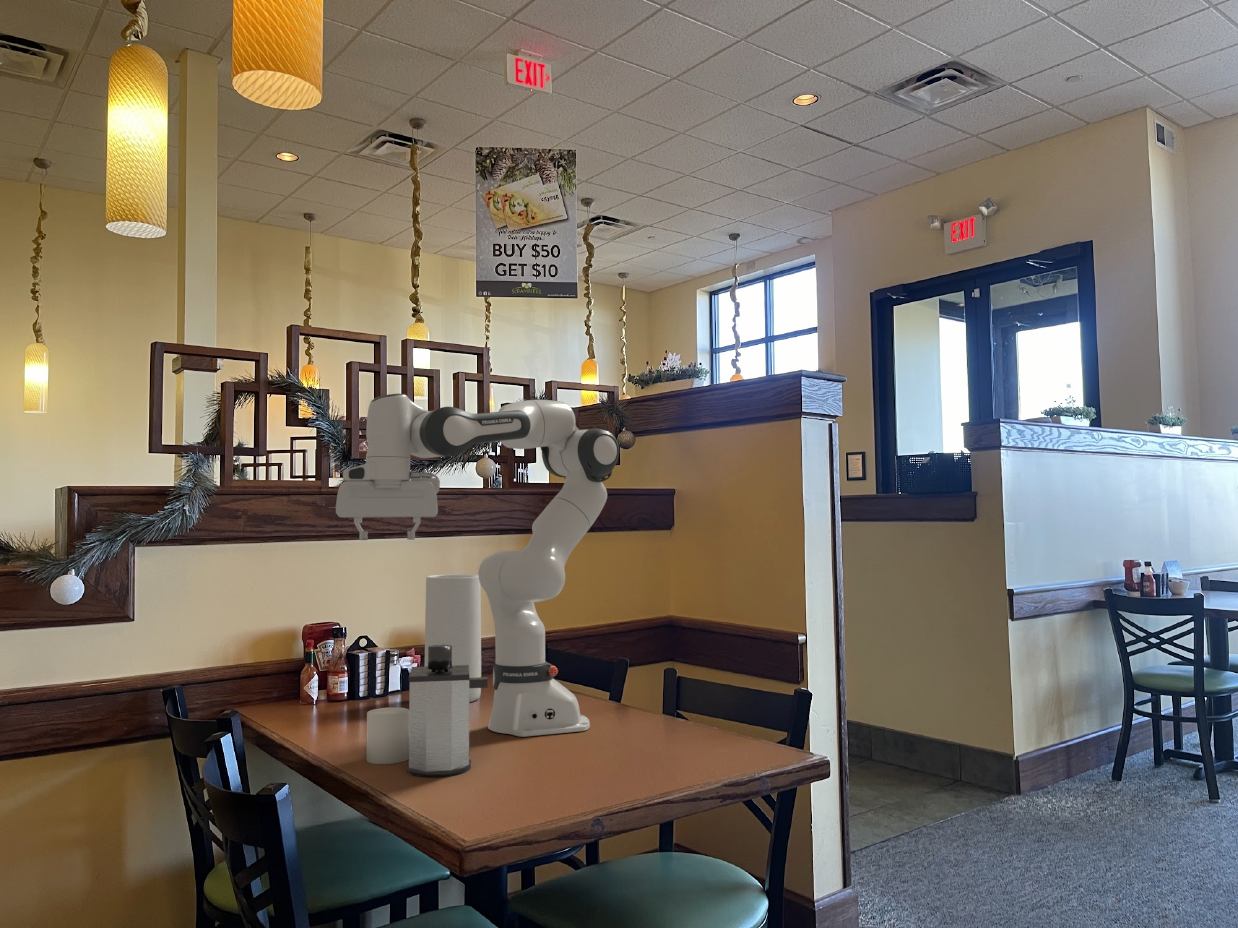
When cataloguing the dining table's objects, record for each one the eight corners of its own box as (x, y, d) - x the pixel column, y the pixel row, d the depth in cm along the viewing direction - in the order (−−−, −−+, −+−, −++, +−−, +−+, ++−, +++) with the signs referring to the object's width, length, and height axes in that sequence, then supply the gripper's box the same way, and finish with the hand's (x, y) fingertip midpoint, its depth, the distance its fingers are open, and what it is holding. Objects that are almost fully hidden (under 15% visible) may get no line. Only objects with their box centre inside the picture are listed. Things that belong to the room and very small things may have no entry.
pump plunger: (451, 756, 170) (452, 644, 172) (451, 762, 166) (451, 647, 167) (427, 757, 170) (428, 644, 171) (426, 763, 165) (427, 648, 166)
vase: (425, 695, 237) (426, 574, 238) (480, 693, 239) (480, 573, 241) (423, 706, 223) (424, 578, 224) (482, 704, 225) (482, 577, 227)
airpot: (405, 778, 161) (406, 676, 162) (409, 761, 172) (409, 666, 173) (488, 774, 163) (488, 674, 165) (486, 757, 175) (486, 663, 176)
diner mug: (410, 748, 182) (410, 703, 183) (408, 762, 172) (408, 714, 172) (369, 750, 181) (369, 705, 182) (364, 765, 170) (365, 716, 171)
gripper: (440, 473, 190) (439, 539, 189) (339, 472, 186) (338, 540, 185) (439, 471, 183) (439, 539, 183) (335, 471, 180) (334, 540, 179)
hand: (387, 539), depth 184 cm, fingers open, 8 cm apart
